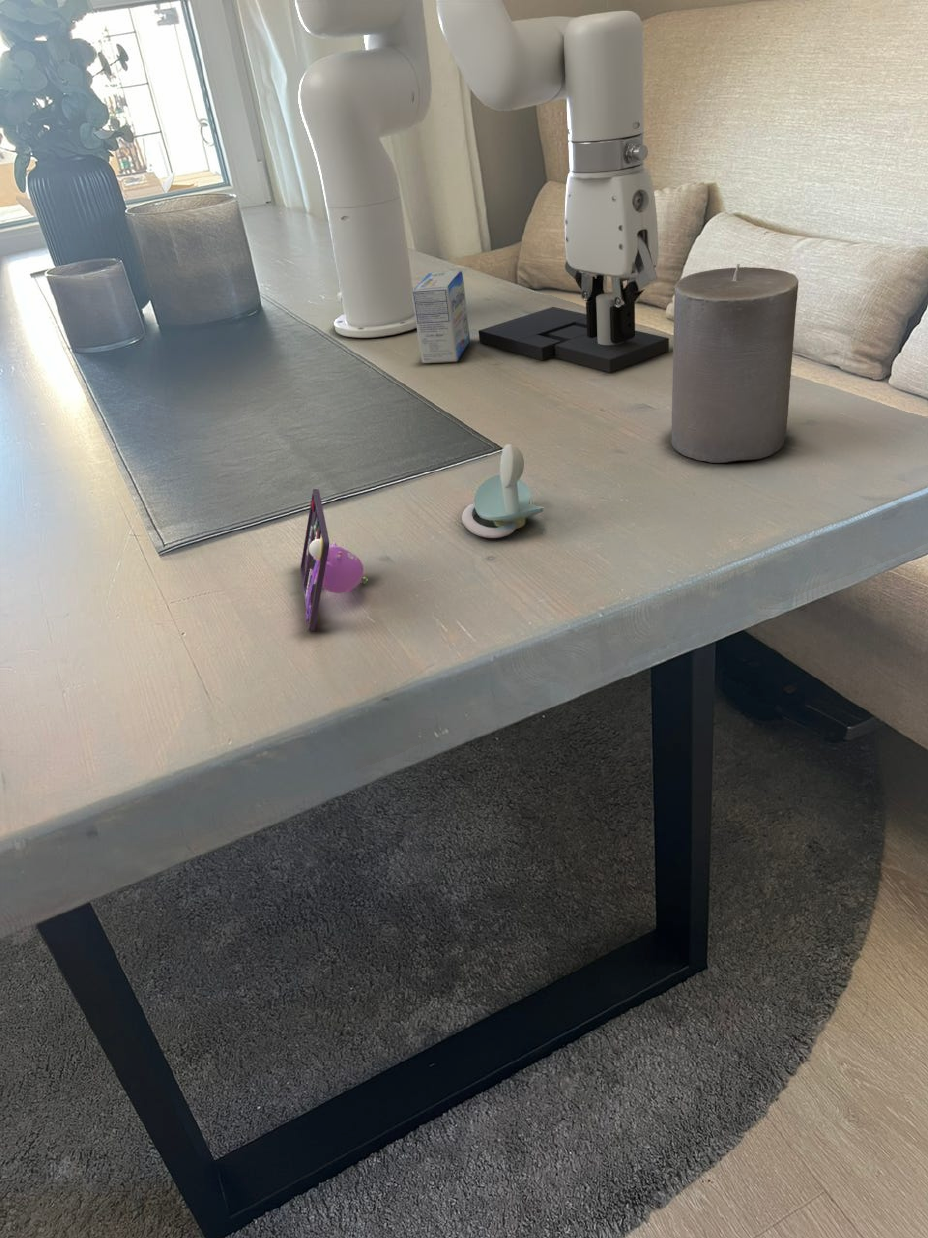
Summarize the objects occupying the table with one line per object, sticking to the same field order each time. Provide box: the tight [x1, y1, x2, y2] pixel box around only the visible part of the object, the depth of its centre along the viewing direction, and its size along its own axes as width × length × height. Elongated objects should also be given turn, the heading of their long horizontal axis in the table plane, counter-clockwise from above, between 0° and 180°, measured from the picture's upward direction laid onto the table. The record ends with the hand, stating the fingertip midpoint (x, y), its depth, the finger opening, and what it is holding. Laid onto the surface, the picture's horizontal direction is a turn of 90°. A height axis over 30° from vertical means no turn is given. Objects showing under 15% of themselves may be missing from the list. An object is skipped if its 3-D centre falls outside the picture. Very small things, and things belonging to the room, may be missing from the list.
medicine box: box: [412, 270, 471, 364], centre depth 111 cm, size 8×4×9 cm, turn 168°
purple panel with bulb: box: [299, 488, 369, 632], centre depth 66 cm, size 7×5×9 cm
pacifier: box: [461, 443, 544, 539], centre depth 72 cm, size 7×6×6 cm
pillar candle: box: [670, 263, 799, 464], centre depth 78 cm, size 10×10×15 cm
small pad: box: [549, 291, 670, 374], centre depth 106 cm, size 13×9×6 cm
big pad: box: [478, 306, 587, 361], centre depth 113 cm, size 12×12×2 cm
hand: (610, 335), depth 105 cm, fingers closed on small pad, 3 cm apart
